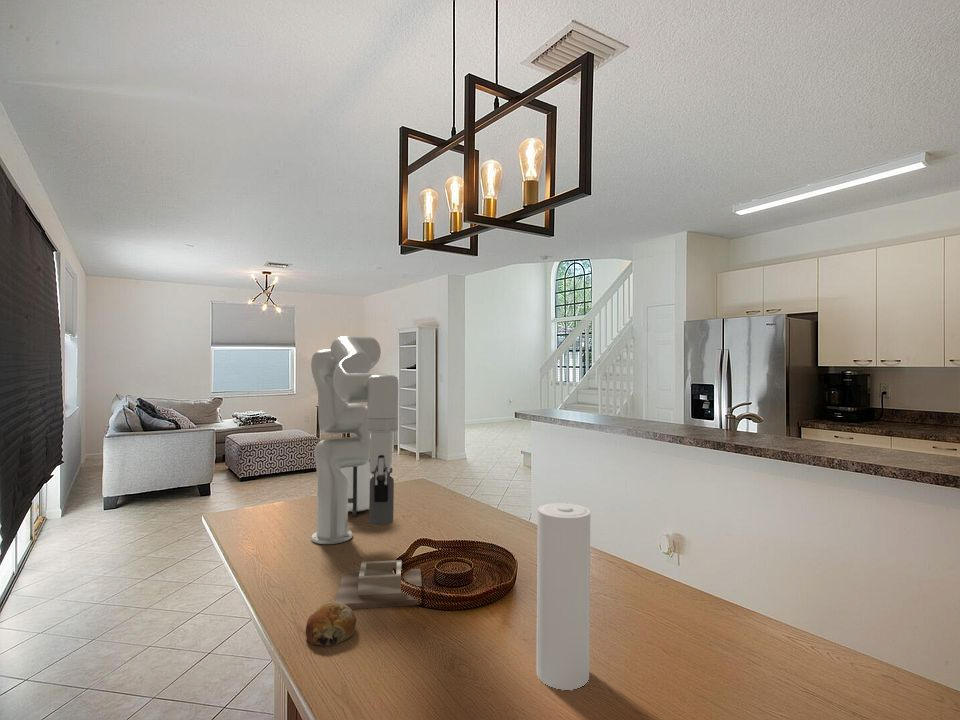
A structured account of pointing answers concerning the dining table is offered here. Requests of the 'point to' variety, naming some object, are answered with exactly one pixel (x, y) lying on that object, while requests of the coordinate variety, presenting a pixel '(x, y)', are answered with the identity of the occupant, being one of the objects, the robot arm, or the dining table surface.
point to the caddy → (377, 585)
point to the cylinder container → (563, 595)
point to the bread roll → (330, 624)
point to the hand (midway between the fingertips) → (381, 497)
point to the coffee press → (358, 487)
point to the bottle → (381, 503)
